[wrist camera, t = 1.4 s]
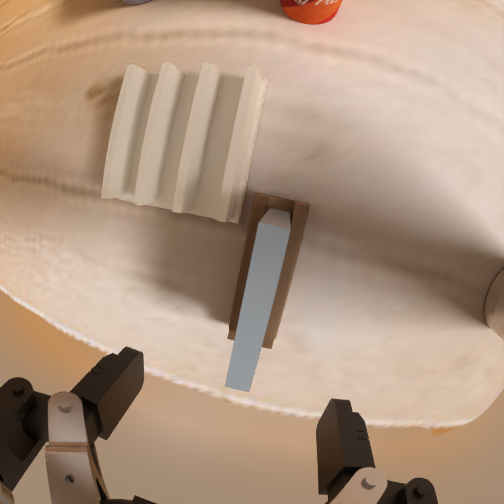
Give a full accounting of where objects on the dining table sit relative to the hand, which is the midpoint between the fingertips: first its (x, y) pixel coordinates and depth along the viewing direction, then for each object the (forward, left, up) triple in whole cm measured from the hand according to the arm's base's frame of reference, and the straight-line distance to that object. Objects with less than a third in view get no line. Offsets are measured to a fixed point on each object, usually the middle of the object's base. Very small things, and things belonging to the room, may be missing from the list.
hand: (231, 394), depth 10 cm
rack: (+10, -11, -18) cm, 23 cm away
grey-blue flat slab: (0, 0, -17) cm, 17 cm away
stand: (0, 0, -18) cm, 18 cm away
